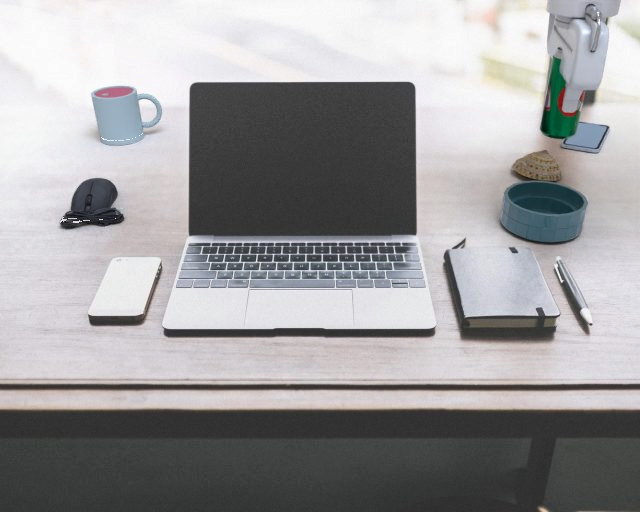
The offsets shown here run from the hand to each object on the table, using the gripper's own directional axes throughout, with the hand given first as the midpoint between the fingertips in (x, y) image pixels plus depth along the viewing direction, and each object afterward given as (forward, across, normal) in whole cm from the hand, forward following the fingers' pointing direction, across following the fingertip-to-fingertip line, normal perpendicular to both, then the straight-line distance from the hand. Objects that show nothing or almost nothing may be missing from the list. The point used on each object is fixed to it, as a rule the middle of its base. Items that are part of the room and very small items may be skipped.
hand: (563, 103), depth 87 cm
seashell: (+20, +20, -2) cm, 28 cm away
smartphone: (+20, +40, -14) cm, 47 cm away
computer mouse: (+20, -3, +73) cm, 76 cm away
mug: (+20, +30, +81) cm, 89 cm away
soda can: (+5, 0, 0) cm, 5 cm away
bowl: (+20, 0, 0) cm, 20 cm away
